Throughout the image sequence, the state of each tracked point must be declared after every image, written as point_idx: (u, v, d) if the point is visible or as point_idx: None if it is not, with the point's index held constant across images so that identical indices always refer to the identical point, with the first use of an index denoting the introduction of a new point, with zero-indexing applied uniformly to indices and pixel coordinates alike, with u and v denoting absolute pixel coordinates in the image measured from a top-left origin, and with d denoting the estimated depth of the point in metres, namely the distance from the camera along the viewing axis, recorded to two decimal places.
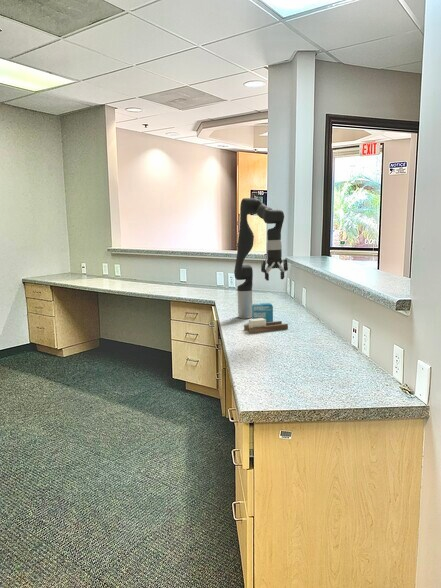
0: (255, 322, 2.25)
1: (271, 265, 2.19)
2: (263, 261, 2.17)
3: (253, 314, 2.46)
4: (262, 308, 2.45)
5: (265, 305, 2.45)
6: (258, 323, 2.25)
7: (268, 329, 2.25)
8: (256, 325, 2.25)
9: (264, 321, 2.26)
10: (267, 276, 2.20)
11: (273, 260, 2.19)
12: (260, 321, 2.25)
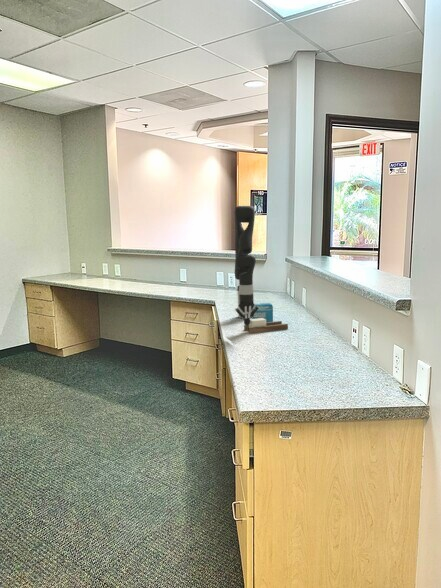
0: (255, 322, 2.25)
1: (245, 310, 2.23)
2: (236, 310, 2.22)
3: None
4: (262, 308, 2.45)
5: (265, 305, 2.45)
6: (258, 323, 2.25)
7: (268, 329, 2.25)
8: (256, 325, 2.25)
9: (264, 321, 2.26)
10: (246, 321, 2.25)
11: (245, 304, 2.23)
12: (260, 321, 2.25)
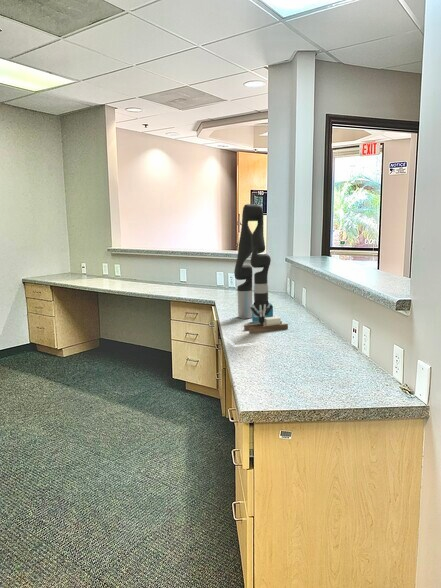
0: (270, 320, 2.27)
1: (260, 308, 2.25)
2: (251, 308, 2.24)
3: (253, 314, 2.46)
4: None
5: None
6: (273, 321, 2.28)
7: (268, 329, 2.25)
8: (271, 323, 2.28)
9: (279, 319, 2.29)
10: (261, 319, 2.27)
11: (260, 303, 2.26)
12: (275, 319, 2.28)
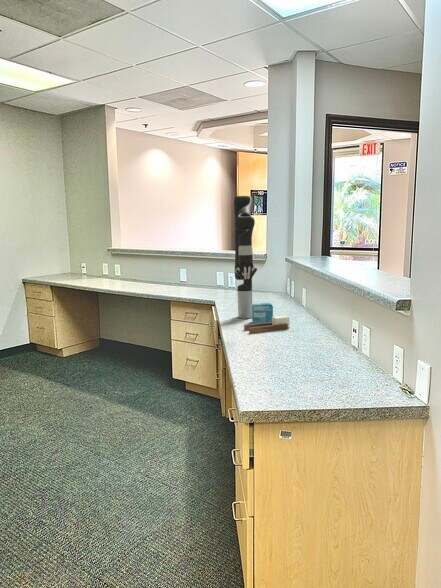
0: (279, 319, 2.29)
1: (244, 270, 2.27)
2: (236, 270, 2.26)
3: (253, 314, 2.46)
4: (262, 308, 2.45)
5: (265, 305, 2.45)
6: (282, 320, 2.29)
7: (268, 329, 2.25)
8: (280, 322, 2.29)
9: (287, 318, 2.30)
10: (245, 282, 2.29)
11: (244, 265, 2.27)
12: (283, 318, 2.30)
